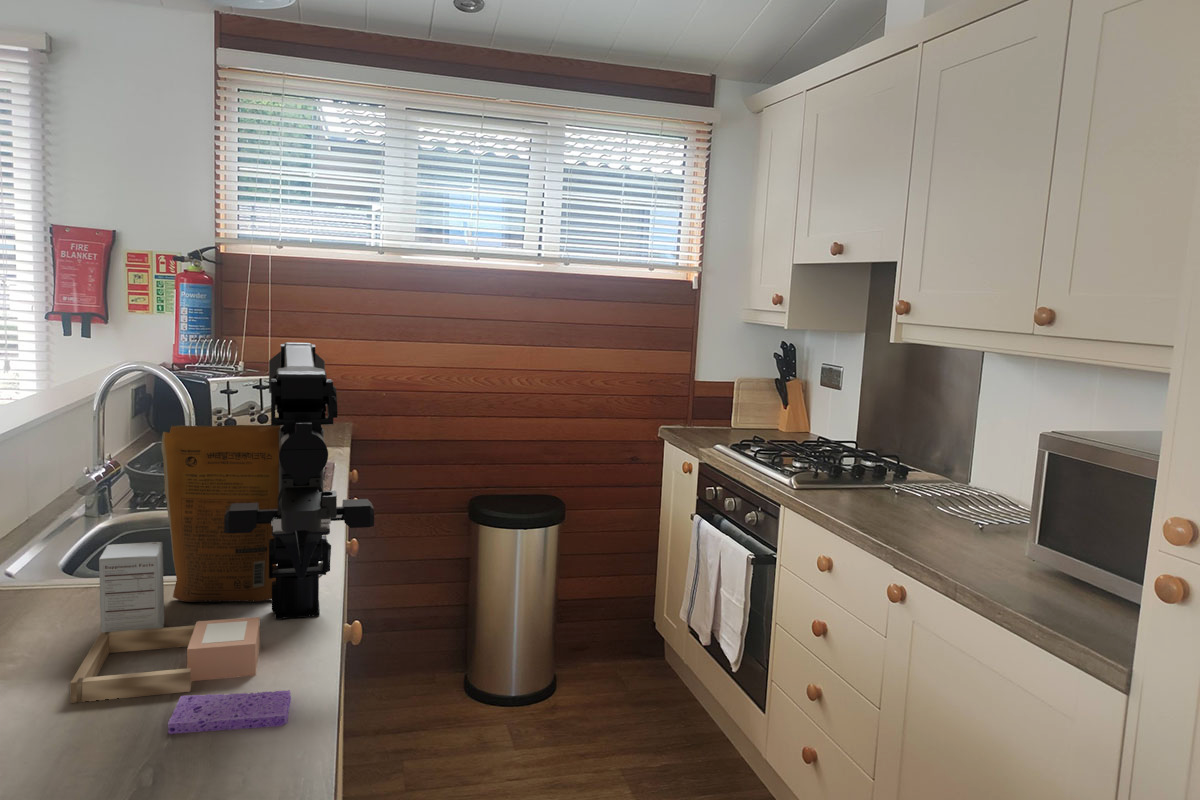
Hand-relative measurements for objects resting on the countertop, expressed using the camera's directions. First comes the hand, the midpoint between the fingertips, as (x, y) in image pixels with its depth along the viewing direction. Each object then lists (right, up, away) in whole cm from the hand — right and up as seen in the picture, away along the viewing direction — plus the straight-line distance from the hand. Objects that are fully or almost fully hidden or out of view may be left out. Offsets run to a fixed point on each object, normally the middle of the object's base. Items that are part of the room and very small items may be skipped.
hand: (301, 577), depth 117 cm
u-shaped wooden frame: (-18, -11, -5) cm, 22 cm away
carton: (-9, -11, -2) cm, 15 cm away
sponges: (-2, -13, -16) cm, 21 cm away
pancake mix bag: (-19, -8, +21) cm, 30 cm away
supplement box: (-26, -10, +6) cm, 28 cm away
